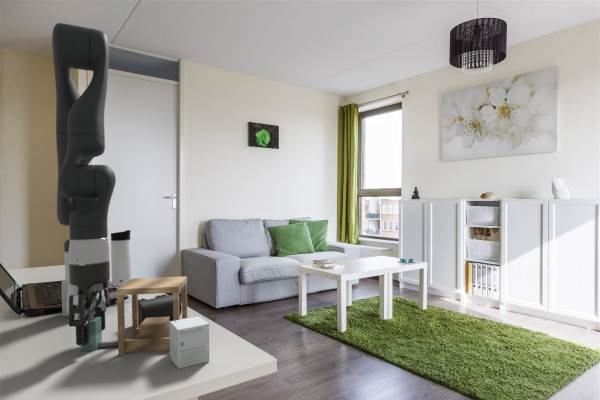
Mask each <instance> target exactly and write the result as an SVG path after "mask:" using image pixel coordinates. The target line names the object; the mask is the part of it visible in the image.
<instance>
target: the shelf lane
mask: <svg viewBox="0 0 600 400" xmlns="http://www.w3.org/2000/svg"><path fill="white" fill-rule="evenodd" d="M187 283H188V276H184V275H183V276H162V277H137V278H135V277H134V278H133V277H131V280H129V281H128V282H126V283H125V284H123V285H122V286H121V287H119V288H118V289H115V290H116V293H115V294H116V305H117V312H116V313H117V341H118V346H117V347H118V349H117V352H118V356H125V354H126V353H129V354H130V353H139V352H140V353H142V352H143V353H144V352H146V353H147V352H160V351H170V337H162V338H144V339H140V328H139V325H138V300H139V295H153V294H154V295H155V294H157V295H158V294H173V318H174V321H175V320H181V319H185V318H189V317H188V284H187ZM180 292H181V306H182V311H181V315H179V299H180ZM130 295H131V318H132V319H131V320H132V321H131V322H132V338H129V339H128V338H126V328H125V327H126V325H125V322H126V321H125V320H126V319H125V318H126V317H125V296H130ZM180 317H181V319H180Z"/></svg>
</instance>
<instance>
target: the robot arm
mask: <svg viewBox="0 0 600 400" xmlns="http://www.w3.org/2000/svg"><path fill="white" fill-rule="evenodd" d="M51 37H52V38H51V42H52V43H51V44H52V58H53V70H54V80H55V81H54V82H55V83H54V84H55V94H56V95H55V98H56V99H55V100H56V101H55V102H56V103H55V105H56V106H55V108H56V109H55V130H56V131H55V132H56V133H55V134H56V135H55V136H56V137H55V138H56V139H55V140H56V142H55V144H56V155H57V188H56V189H57V192H56V216H57V219H58V220H57V221H58V222H59V224H60V225H61V226H67V227H69V239H67V240H65V242H64V243H63V250H64V251H63V252H64V279H63V280H62V281H61V307H62V310H61V312H62V317H68V326H69V327H74V328H75V344H76V345H77V346H78V347H79V346H81V345H87V344H88V343H89V320H90V317H101V329H102V331H105V329H106V312H107V308H109V307H110V290H109V289H110V287H109V283H110V282H109V281H110V280H111V264H110V263H111V259H110V258H111V256H110V245H109V236H108V235H109V234H108V217H109V216H108V214H109V209H110V203H111V199H112V196H113V193H114V190H115V186H116V183H117V182H116V174H115V171H114V170H113V169H112V168H111V167H110V166H109V165H105V164H90V163H91V161H93V159H94V158H97V157H100V156H101V155H103V154H104V153H105V150H106V141H105V140H106V139H105V138H106V136H105V109H106V107H105V106H106V99H107V90H108V78H109V68H110V67H109V65H110V64H109V62H110V46H109V40H108V36H107V35H106V33H105V32H104V31H102V30H100V29H95V28H91V27H86V26H80V25H75V24H69V23H65V22H64V23H63V22H57V23H56V24H55V25H54V26H53V29H52V36H51ZM70 69H74V70H82V71H89V72H92V77H91V79H90V82H89V84H88V86H87V87H86V88H85V90H84V91H83V92H82V94H80V92H79V90H78V89H77V86H76V85H75V82H74V80H73V77H72V74H71V70H70Z"/></svg>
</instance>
